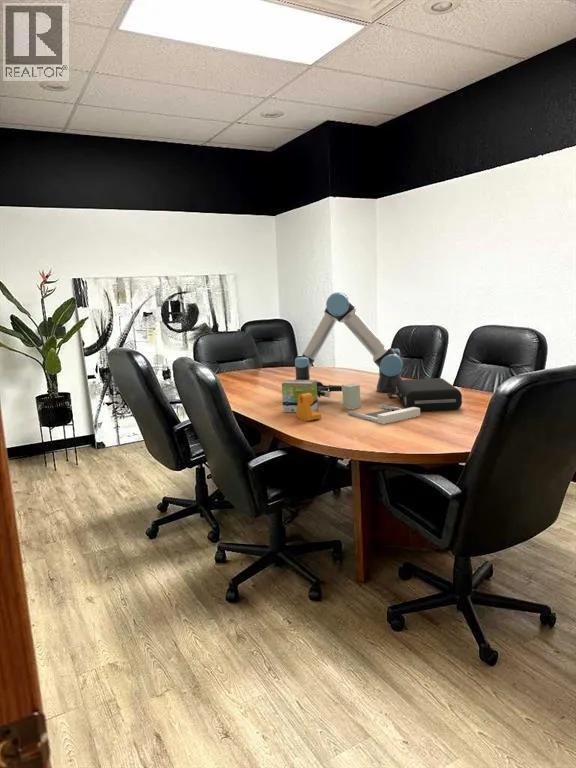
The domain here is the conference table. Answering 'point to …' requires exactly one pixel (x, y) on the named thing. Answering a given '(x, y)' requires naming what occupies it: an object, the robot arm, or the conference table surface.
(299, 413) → the bracket
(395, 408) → the track rails
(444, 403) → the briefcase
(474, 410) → the conference table surface
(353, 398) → the block
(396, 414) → the end stop
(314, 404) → the tea box
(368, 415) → the stop pad
